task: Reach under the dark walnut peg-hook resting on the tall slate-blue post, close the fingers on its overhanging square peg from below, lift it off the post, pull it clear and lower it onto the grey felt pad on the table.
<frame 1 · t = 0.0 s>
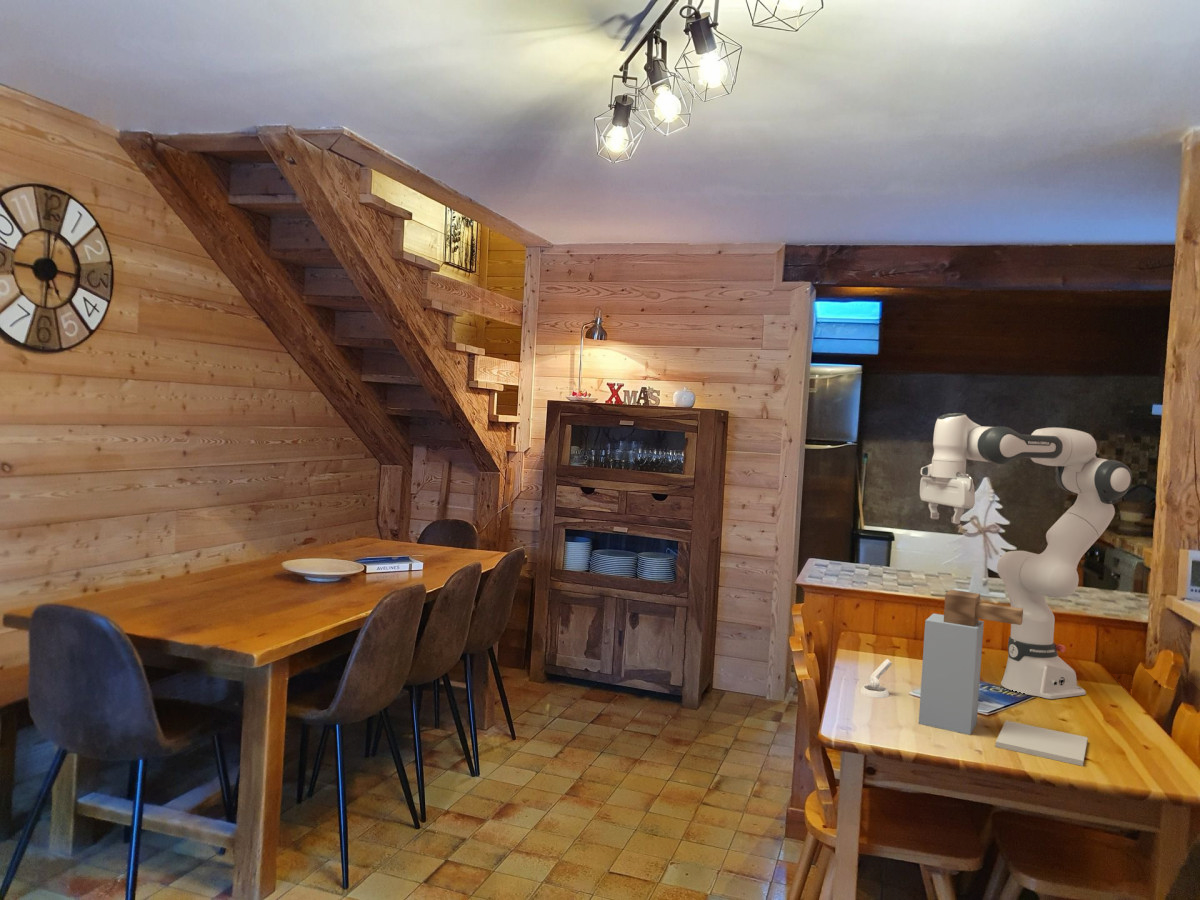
hand: (944, 521, 243), 48 cm above the table, tool pointing down, fingers open, 8 cm apart
hook: (874, 694, 241), on the table
felt pad: (1041, 744, 208), on the table
post: (947, 723, 219), on the table
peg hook: (961, 621, 218), point 26 cm above the table, touching post
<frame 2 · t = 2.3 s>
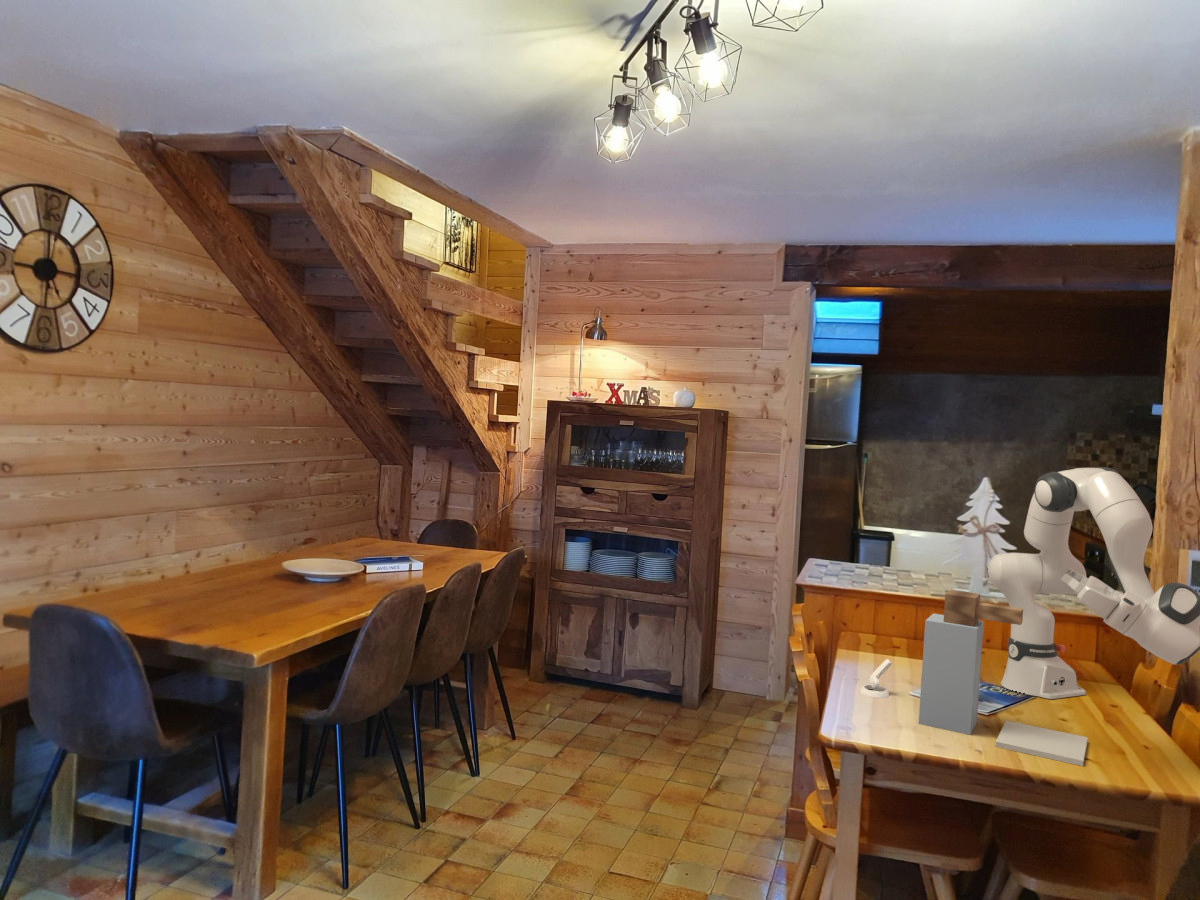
hand: (1064, 573, 207), 41 cm above the table, tool pointing upward, fingers open, 8 cm apart
nothing on the table moved.
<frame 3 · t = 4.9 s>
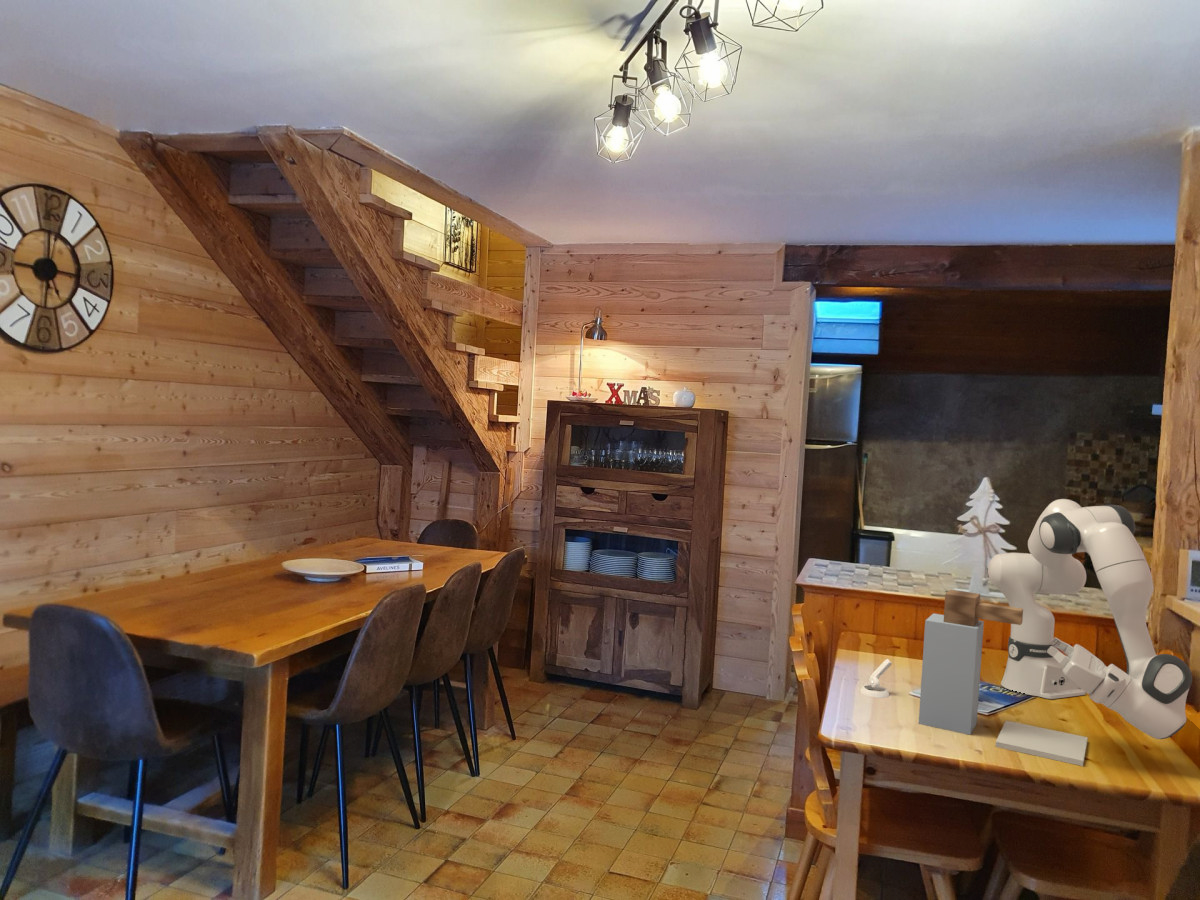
hand: (1050, 644, 207), 24 cm above the table, tool pointing upward, fingers open, 8 cm apart
nothing on the table moved.
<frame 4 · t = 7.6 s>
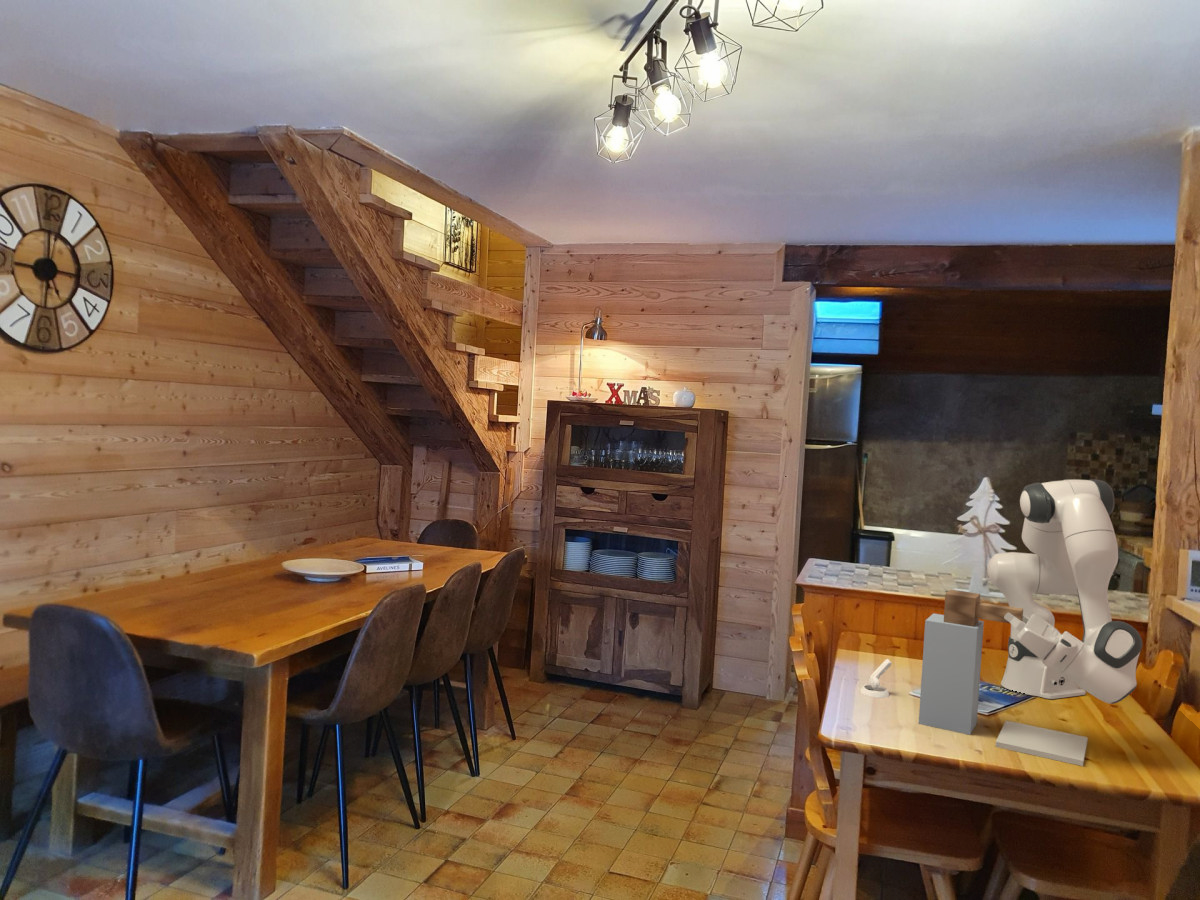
hand: (1007, 612, 212), 30 cm above the table, tool pointing upward, fingers closed on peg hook, 3 cm apart
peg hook: (961, 621, 218), point 26 cm above the table, touching gripper, post
everything else where it was.
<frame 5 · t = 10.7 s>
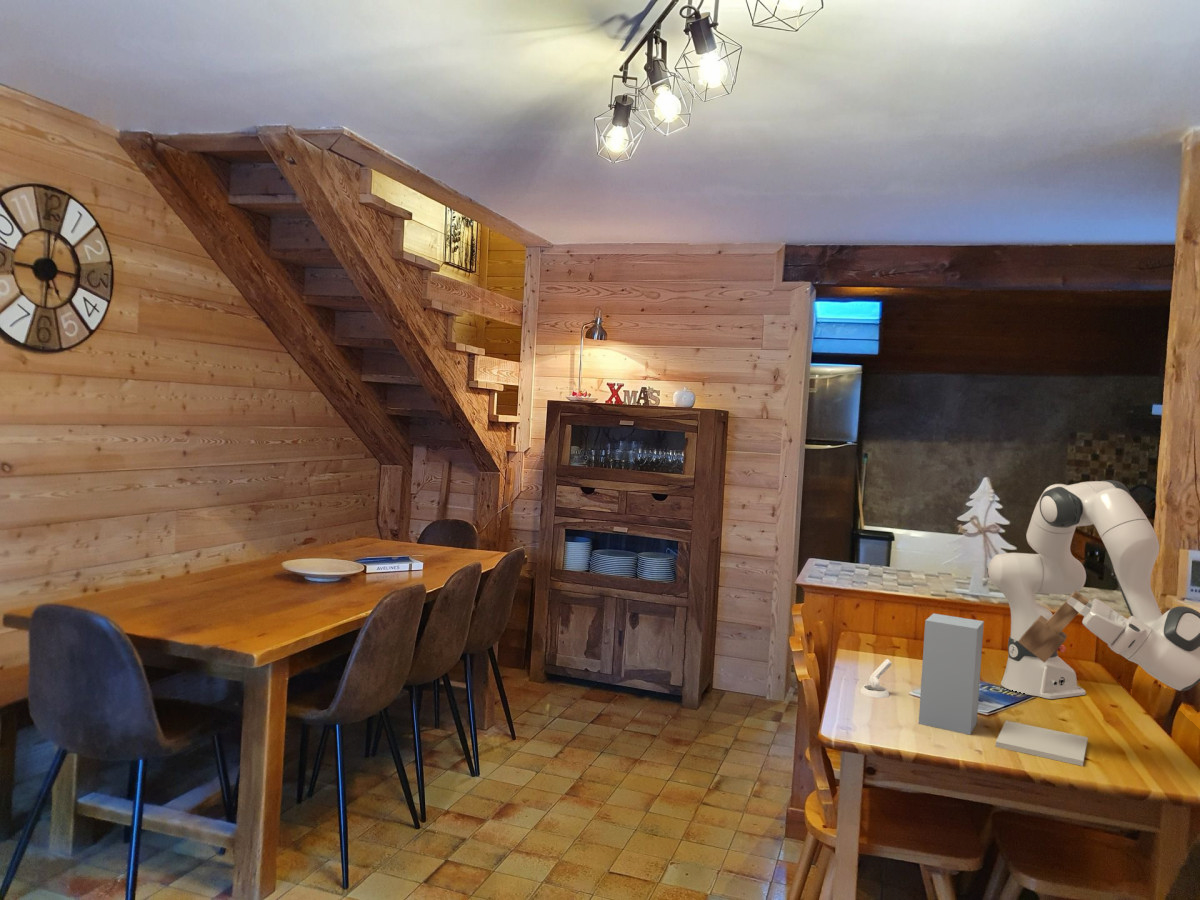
hand: (1069, 597, 205), 36 cm above the table, tool pointing upward, fingers closed on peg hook, 3 cm apart
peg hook: (1055, 648, 206), point 23 cm above the table, tilted 56°, touching gripper
everything else where it was.
when the fingers open (19 cm above the table, at t = 13.8 s): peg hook drops 2 cm, resting on felt pad.
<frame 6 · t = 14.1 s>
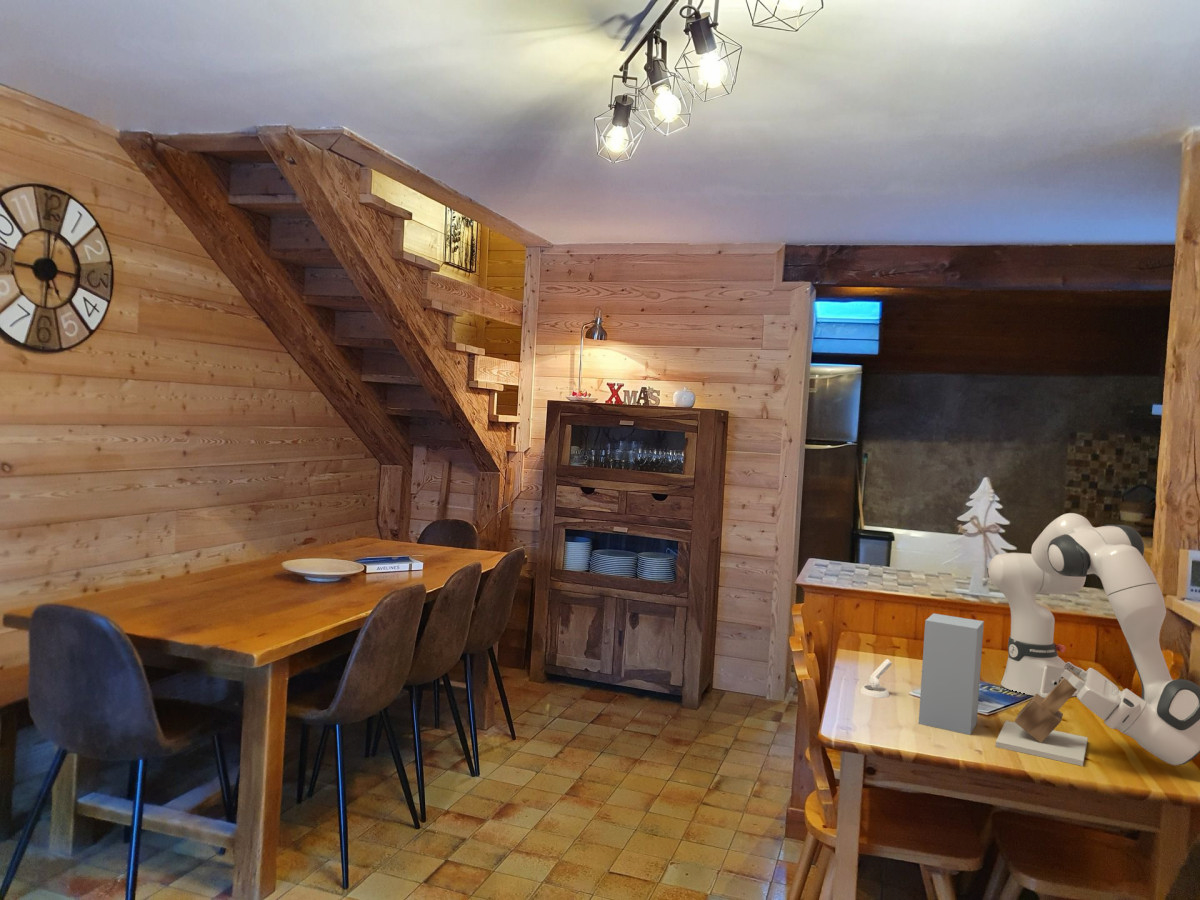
hand: (1064, 668, 206), 19 cm above the table, tool pointing upward, fingers open, 6 cm apart
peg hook: (1052, 728, 207), point 4 cm above the table, tilted 58°, touching felt pad
everything else where it was.
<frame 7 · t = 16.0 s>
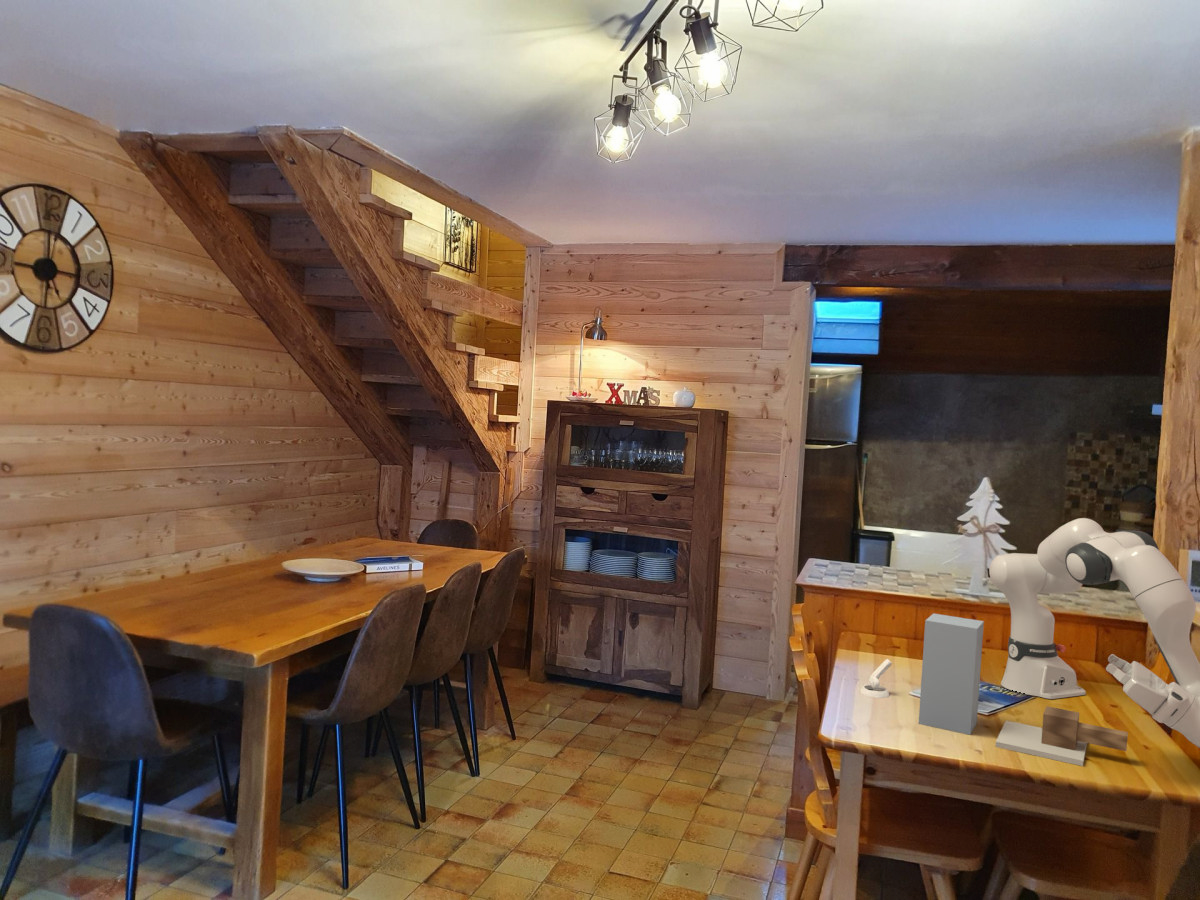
hand: (1108, 661, 201), 22 cm above the table, tool pointing upward, fingers open, 8 cm apart
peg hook: (1059, 742, 206), point 1 cm above the table, touching felt pad
everything else where it was.
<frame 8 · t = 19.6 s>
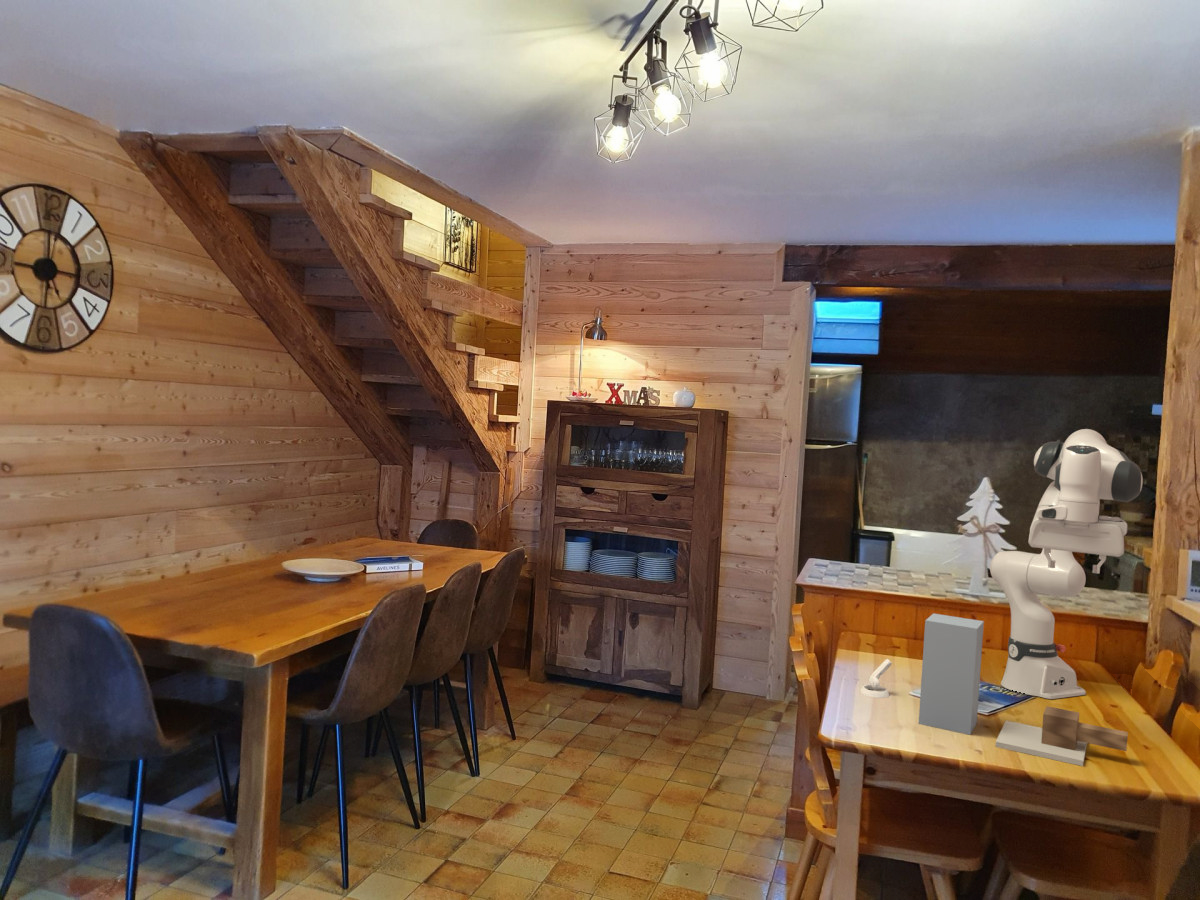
hand: (1073, 570, 211), 41 cm above the table, tool pointing down, fingers open, 8 cm apart
nothing on the table moved.
at the end: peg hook inside the target area on the felt pad (3.6 cm from its centre), point 1.2 cm above the felt pad's base; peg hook touching felt pad; the gripper is holding nothing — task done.
